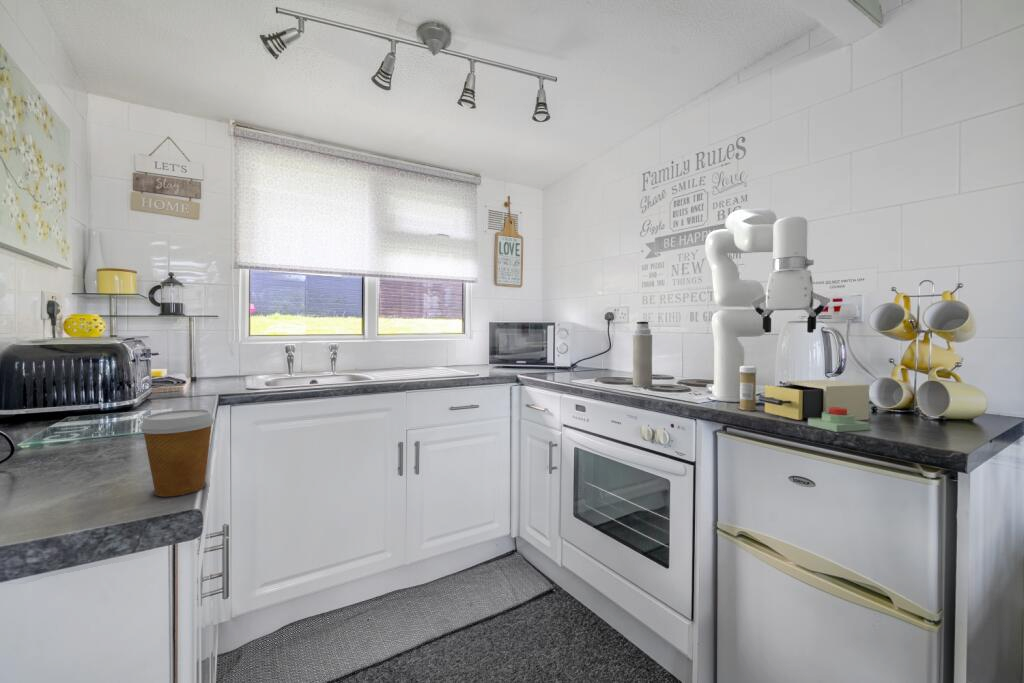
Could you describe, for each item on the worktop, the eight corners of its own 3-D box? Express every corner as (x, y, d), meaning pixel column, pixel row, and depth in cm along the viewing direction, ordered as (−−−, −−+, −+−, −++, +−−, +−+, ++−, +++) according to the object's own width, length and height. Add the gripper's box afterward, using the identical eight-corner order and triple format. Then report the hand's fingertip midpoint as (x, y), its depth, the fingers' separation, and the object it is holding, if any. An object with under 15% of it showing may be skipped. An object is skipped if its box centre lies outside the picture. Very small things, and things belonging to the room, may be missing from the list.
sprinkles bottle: (758, 410, 136) (759, 366, 136) (750, 411, 134) (751, 367, 133) (744, 407, 140) (744, 365, 139) (736, 409, 137) (736, 366, 137)
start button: (825, 414, 114) (825, 407, 114) (836, 413, 114) (837, 406, 114) (839, 417, 110) (839, 409, 110) (850, 416, 111) (850, 409, 111)
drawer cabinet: (825, 422, 118) (826, 386, 118) (786, 413, 131) (786, 381, 130) (868, 419, 122) (869, 384, 122) (826, 411, 134) (826, 379, 134)
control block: (807, 425, 115) (807, 411, 115) (838, 423, 117) (838, 409, 117) (836, 432, 107) (837, 417, 107) (869, 429, 110) (869, 415, 109)
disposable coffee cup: (229, 478, 75) (227, 408, 75) (190, 500, 66) (188, 419, 65) (171, 479, 75) (169, 408, 74) (124, 501, 65) (121, 420, 65)
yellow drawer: (785, 420, 116) (785, 391, 116) (752, 412, 127) (752, 385, 127) (839, 417, 120) (840, 388, 120) (802, 410, 131) (803, 383, 131)
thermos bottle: (648, 384, 197) (649, 321, 197) (654, 387, 190) (654, 321, 189) (630, 384, 198) (631, 321, 197) (635, 387, 190) (635, 321, 189)
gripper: (833, 264, 111) (831, 332, 112) (757, 270, 124) (756, 332, 124) (826, 261, 106) (825, 332, 107) (748, 268, 118) (747, 332, 119)
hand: (788, 332), depth 115 cm, fingers open, 9 cm apart
